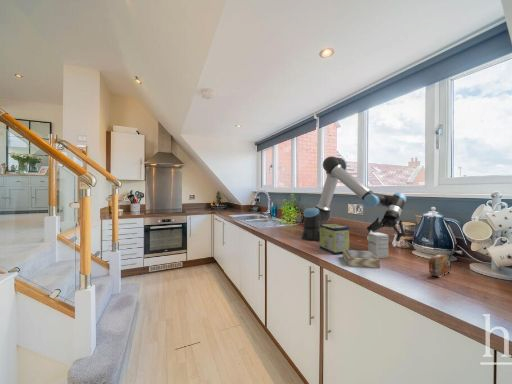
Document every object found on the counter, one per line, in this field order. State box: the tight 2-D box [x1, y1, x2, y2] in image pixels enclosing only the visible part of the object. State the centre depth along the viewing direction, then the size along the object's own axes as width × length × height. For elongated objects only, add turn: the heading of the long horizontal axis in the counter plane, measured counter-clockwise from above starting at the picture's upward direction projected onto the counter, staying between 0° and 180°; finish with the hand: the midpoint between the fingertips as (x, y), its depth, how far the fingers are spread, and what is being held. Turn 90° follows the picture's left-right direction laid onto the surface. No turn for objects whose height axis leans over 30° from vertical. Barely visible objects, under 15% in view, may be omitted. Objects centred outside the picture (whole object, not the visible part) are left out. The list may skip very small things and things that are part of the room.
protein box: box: [319, 223, 350, 255], centre depth 127 cm, size 10×16×16 cm
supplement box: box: [367, 231, 389, 259], centre depth 116 cm, size 7×7×13 cm
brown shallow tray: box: [342, 249, 381, 269], centre depth 107 cm, size 14×14×4 cm
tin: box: [428, 253, 452, 278], centre depth 90 cm, size 15×3×8 cm, turn 117°
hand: (380, 242), depth 116 cm, fingers open, 13 cm apart
